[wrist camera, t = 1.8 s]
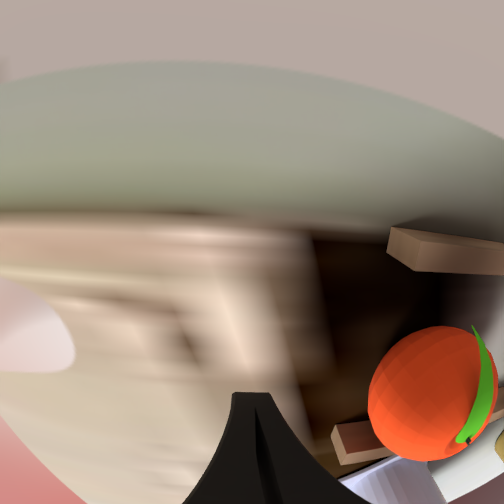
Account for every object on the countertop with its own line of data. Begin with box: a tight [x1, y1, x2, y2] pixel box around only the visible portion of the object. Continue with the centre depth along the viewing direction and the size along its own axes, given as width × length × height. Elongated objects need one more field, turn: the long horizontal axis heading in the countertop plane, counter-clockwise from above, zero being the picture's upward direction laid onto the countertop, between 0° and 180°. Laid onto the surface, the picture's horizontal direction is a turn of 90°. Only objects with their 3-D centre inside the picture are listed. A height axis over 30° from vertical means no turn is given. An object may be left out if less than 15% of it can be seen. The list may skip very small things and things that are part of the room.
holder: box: [331, 227, 504, 465], centre depth 15 cm, size 21×13×2 cm, turn 85°
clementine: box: [368, 325, 498, 462], centre depth 12 cm, size 8×7×7 cm
